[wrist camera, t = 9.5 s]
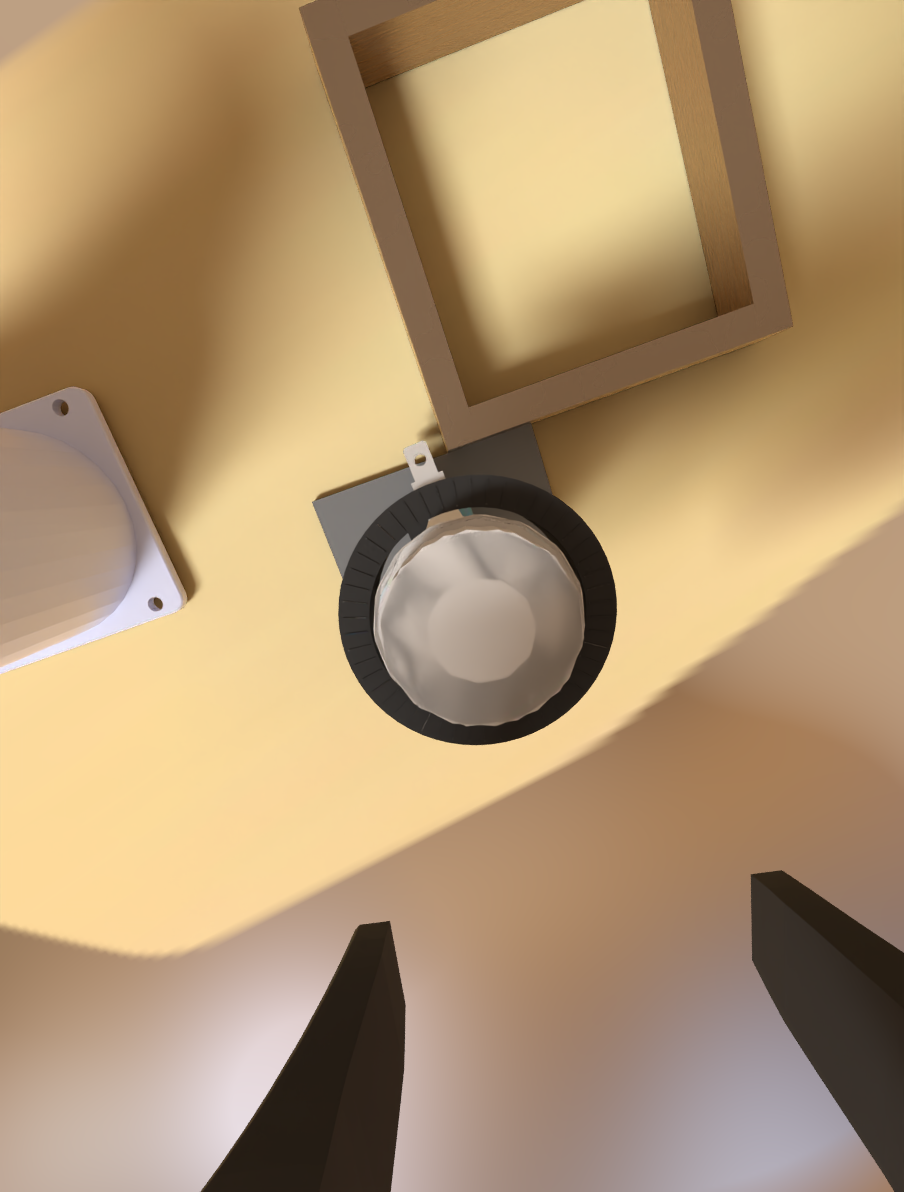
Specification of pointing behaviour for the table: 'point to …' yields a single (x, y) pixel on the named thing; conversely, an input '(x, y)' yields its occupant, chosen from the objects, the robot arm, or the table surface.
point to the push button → (476, 608)
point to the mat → (366, 502)
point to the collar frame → (711, 156)
